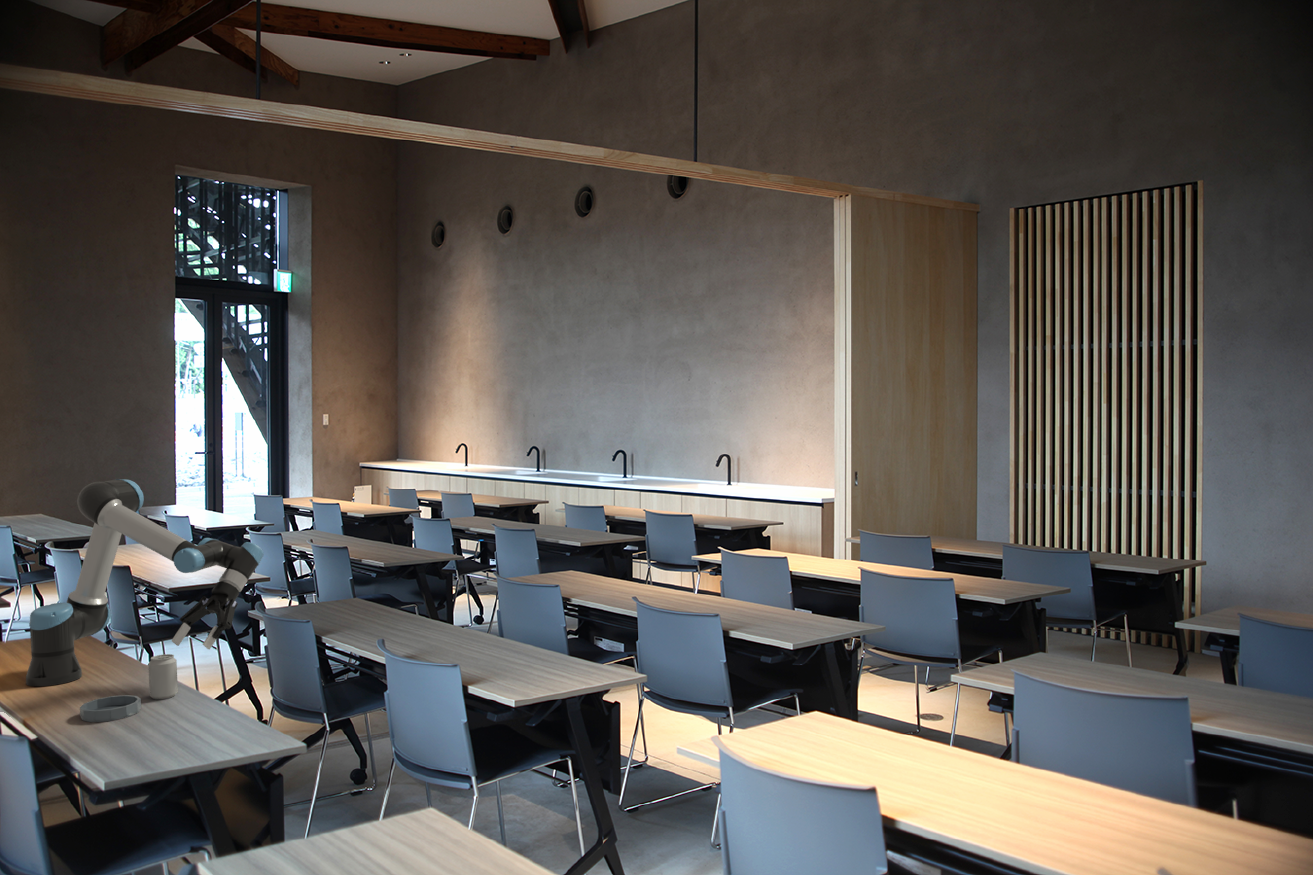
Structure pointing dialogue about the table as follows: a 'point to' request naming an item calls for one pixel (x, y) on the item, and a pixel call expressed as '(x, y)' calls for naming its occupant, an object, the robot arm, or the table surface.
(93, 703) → the dish
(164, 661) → the can
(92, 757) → the table surface
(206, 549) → the robot arm
